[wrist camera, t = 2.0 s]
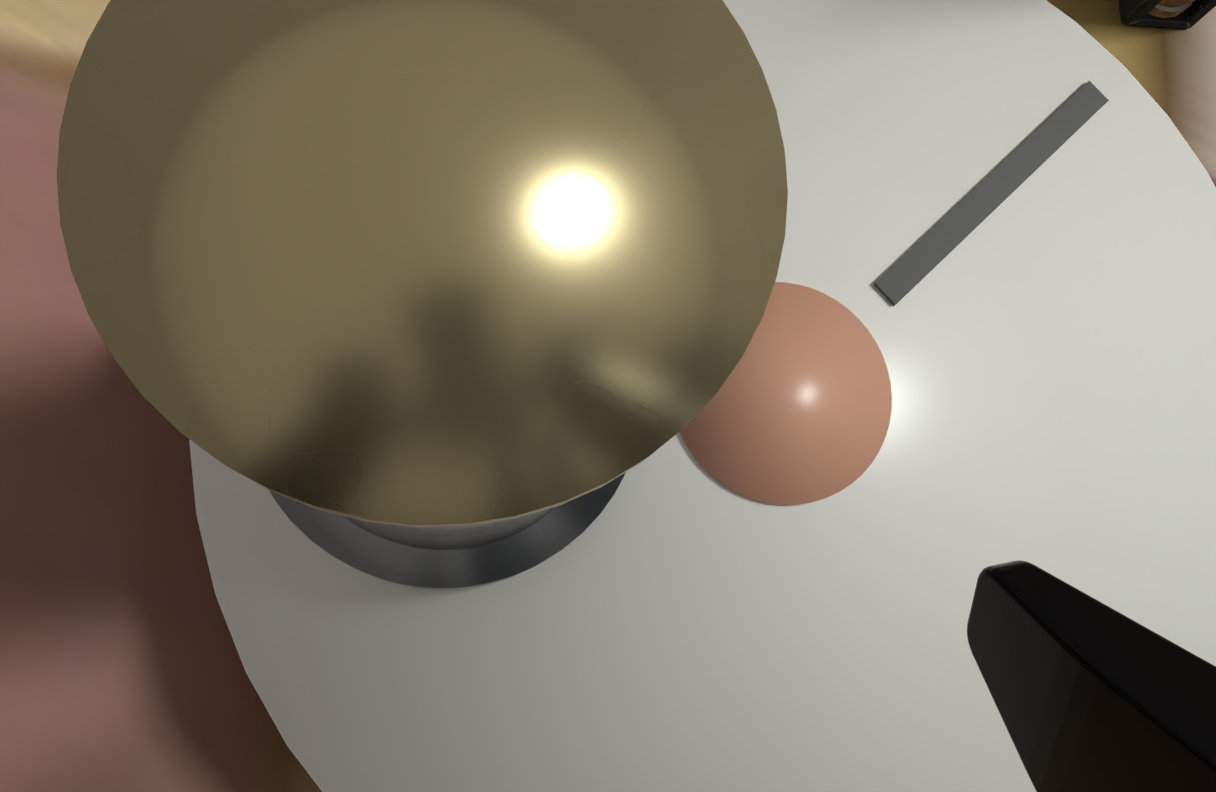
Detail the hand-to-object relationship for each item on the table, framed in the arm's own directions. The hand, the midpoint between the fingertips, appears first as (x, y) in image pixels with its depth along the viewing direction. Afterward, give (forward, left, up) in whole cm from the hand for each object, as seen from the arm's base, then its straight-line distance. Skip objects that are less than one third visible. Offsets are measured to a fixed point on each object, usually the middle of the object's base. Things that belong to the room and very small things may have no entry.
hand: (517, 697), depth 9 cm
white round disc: (+7, 0, -11) cm, 13 cm away
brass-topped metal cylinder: (+2, +4, -10) cm, 11 cm away
